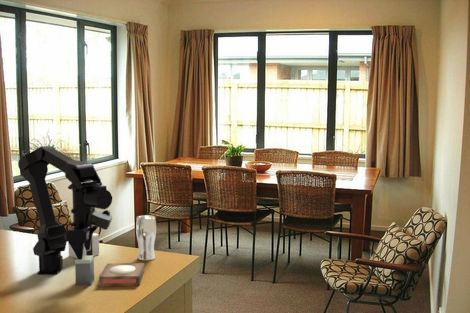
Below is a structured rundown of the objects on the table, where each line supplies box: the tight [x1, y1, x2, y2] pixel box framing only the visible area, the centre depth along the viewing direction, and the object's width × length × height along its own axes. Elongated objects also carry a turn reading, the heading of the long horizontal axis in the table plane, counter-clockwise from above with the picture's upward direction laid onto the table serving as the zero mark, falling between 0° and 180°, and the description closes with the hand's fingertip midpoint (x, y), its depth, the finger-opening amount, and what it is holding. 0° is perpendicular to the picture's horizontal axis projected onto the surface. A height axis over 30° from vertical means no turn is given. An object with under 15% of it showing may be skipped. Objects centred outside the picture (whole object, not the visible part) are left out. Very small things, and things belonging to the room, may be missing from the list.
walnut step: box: [98, 262, 145, 287], centre depth 156 cm, size 12×12×3 cm
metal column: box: [74, 256, 95, 287], centre depth 153 cm, size 4×4×8 cm
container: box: [67, 226, 100, 259], centre depth 179 cm, size 8×8×13 cm
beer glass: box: [135, 214, 157, 262], centre depth 176 cm, size 7×7×15 cm
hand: (84, 254), depth 152 cm, fingers open, 9 cm apart
